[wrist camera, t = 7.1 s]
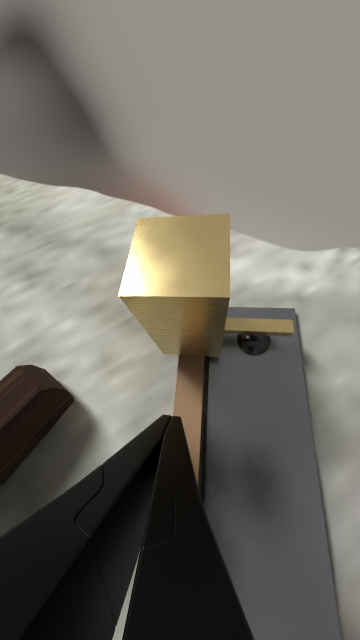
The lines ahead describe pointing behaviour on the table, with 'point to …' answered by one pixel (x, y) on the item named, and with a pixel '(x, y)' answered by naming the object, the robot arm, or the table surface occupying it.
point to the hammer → (27, 412)
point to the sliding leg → (187, 285)
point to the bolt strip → (268, 485)
